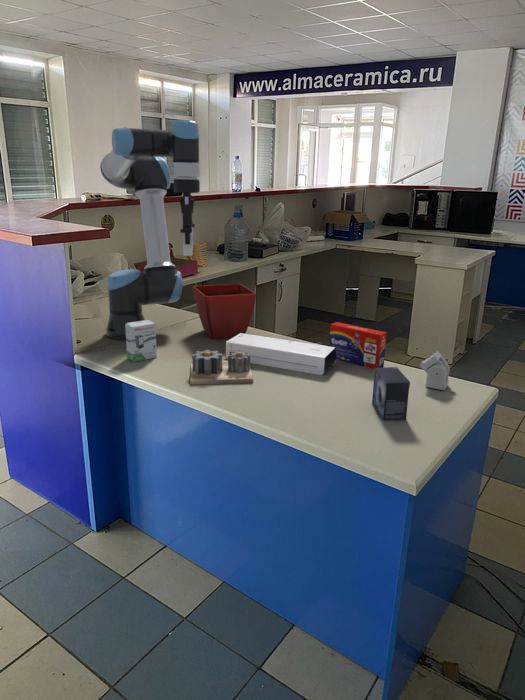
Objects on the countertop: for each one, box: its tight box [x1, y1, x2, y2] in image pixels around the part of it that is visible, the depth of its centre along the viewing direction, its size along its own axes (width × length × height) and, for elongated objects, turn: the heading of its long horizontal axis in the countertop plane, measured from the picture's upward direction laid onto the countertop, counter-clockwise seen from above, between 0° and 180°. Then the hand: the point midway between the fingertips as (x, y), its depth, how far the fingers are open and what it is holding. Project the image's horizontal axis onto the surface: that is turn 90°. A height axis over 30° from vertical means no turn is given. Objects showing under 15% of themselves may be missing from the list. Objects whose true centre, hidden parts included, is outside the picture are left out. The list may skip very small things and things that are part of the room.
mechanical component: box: [419, 351, 450, 391], centre depth 153 cm, size 5×8×10 cm
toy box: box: [329, 321, 388, 371], centre depth 170 cm, size 18×4×12 cm, turn 52°
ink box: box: [125, 319, 158, 363], centre depth 171 cm, size 9×5×12 cm, turn 129°
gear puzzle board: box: [190, 351, 254, 385], centre depth 159 cm, size 16×18×7 cm
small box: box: [371, 366, 411, 421], centre depth 135 cm, size 11×6×10 cm, turn 5°
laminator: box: [224, 333, 336, 376], centre depth 170 cm, size 34×12×6 cm, turn 66°
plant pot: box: [192, 283, 257, 339], centre depth 198 cm, size 19×19×17 cm
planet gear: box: [191, 349, 223, 376], centre depth 159 cm, size 9×9×5 cm
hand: (188, 252), depth 160 cm, fingers open, 13 cm apart
